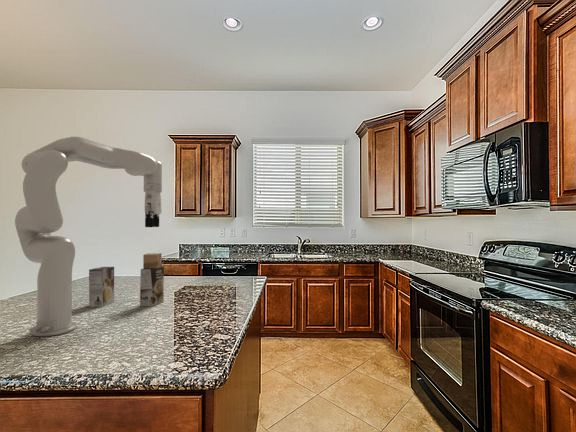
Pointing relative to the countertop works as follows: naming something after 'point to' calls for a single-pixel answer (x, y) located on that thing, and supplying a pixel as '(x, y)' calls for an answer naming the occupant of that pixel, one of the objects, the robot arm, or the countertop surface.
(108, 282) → the coffee box
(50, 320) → the robot arm
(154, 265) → the tan cube
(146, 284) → the coffee box
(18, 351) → the countertop surface
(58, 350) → the countertop surface
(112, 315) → the countertop surface
